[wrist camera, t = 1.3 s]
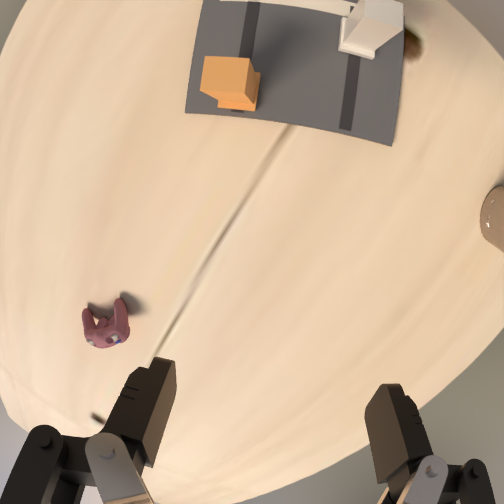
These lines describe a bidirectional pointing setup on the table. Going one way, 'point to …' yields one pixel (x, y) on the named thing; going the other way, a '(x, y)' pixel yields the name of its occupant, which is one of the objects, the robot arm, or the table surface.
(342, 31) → the white slide tab
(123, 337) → the video game controller
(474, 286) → the table surface
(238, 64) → the orange tab
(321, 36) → the switch panel
